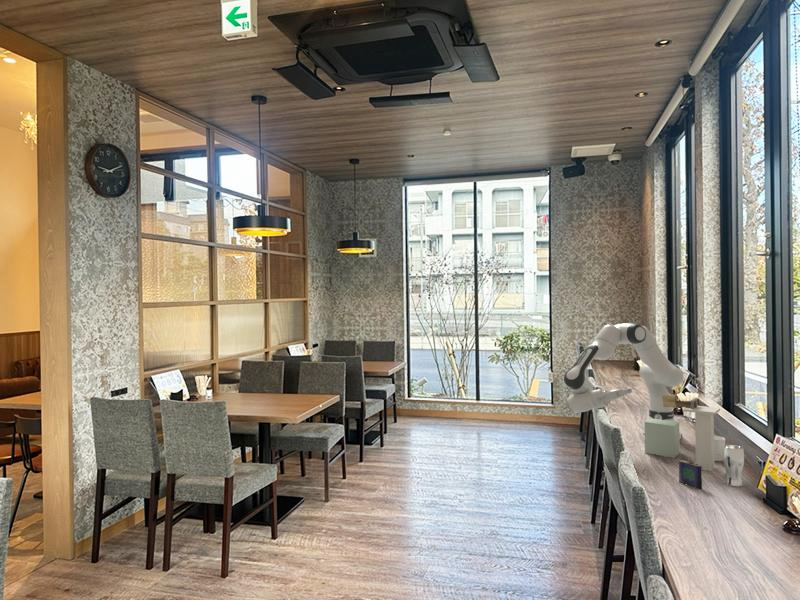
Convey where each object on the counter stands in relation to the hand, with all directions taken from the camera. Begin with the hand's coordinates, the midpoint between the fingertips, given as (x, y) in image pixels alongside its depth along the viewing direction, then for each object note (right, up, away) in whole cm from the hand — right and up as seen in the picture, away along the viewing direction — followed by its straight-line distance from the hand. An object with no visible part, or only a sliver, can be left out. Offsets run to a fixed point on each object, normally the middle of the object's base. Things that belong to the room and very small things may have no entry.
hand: (629, 390), depth 248 cm
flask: (+7, -31, -39) cm, 51 cm away
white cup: (+38, -31, -5) cm, 49 cm away
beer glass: (+25, -31, -39) cm, 55 cm away
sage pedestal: (+18, -31, +5) cm, 36 cm away
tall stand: (+24, -31, -17) cm, 43 cm away
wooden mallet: (+18, -5, -12) cm, 22 cm away
